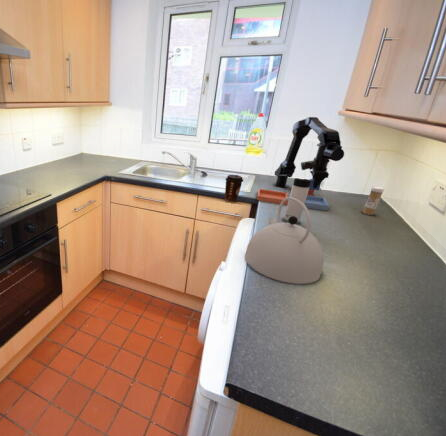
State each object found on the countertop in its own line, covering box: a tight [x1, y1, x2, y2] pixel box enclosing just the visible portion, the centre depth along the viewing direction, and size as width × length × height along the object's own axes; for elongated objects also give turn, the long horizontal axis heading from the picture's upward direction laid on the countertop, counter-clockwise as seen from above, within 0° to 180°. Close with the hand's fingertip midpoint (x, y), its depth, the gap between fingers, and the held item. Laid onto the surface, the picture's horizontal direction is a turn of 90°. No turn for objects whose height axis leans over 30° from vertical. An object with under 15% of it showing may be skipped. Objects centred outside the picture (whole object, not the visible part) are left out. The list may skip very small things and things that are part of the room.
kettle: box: [244, 196, 325, 285], centre depth 96 cm, size 25×23×22 cm
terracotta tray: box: [256, 188, 289, 206], centre depth 162 cm, size 15×15×2 cm
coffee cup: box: [224, 174, 244, 203], centre depth 156 cm, size 9×8×13 cm
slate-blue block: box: [309, 178, 322, 191], centre depth 152 cm, size 4×4×4 cm
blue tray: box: [304, 195, 330, 211], centre depth 156 cm, size 15×15×2 cm
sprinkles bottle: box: [362, 185, 385, 216], centre depth 142 cm, size 5×5×14 cm
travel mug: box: [283, 177, 311, 225], centre depth 130 cm, size 6×7×20 cm
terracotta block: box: [307, 189, 315, 196], centre depth 171 cm, size 4×4×4 cm
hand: (313, 186), depth 153 cm, fingers closed on slate-blue block, 4 cm apart
